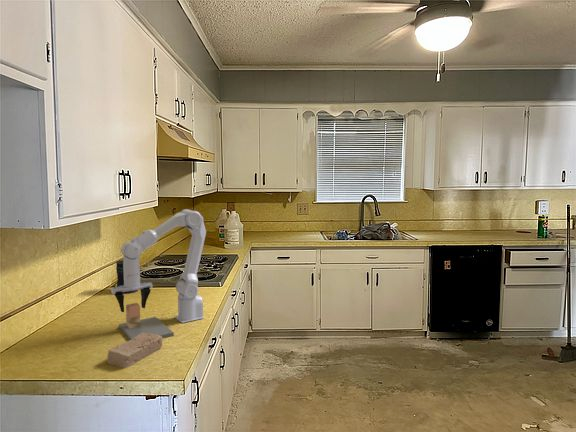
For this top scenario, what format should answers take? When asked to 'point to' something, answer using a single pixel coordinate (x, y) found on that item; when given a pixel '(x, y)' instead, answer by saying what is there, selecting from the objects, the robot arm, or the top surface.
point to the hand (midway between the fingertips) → (133, 309)
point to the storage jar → (121, 276)
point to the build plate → (147, 328)
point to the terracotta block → (133, 310)
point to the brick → (134, 350)
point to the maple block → (133, 322)
